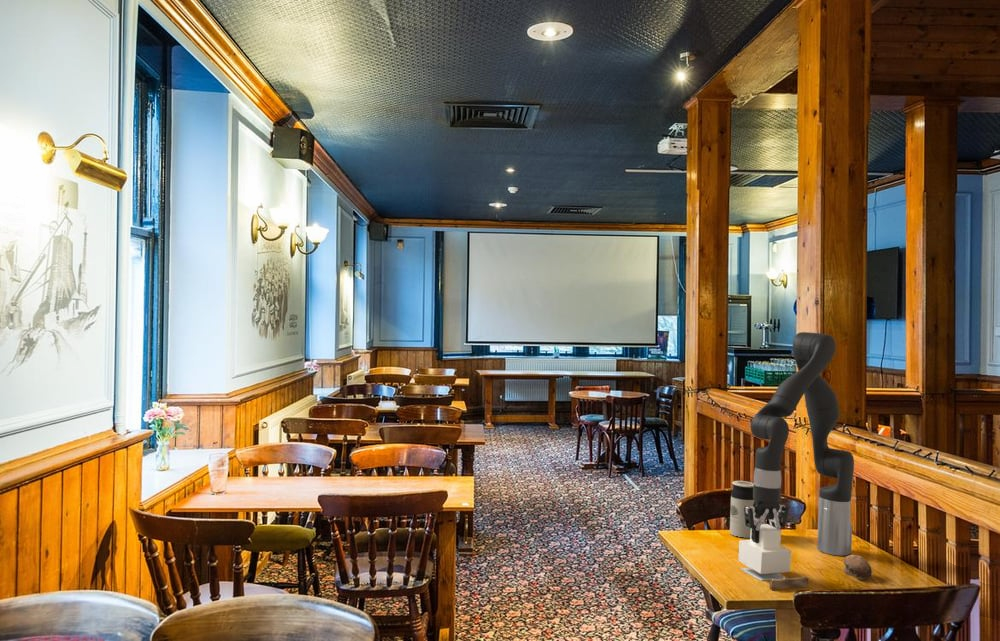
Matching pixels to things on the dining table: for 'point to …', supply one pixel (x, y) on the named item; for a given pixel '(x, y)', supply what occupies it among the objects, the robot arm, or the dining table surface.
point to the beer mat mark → (763, 575)
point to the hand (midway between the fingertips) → (764, 541)
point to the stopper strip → (789, 583)
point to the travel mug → (740, 508)
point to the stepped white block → (765, 552)
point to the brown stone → (857, 567)
